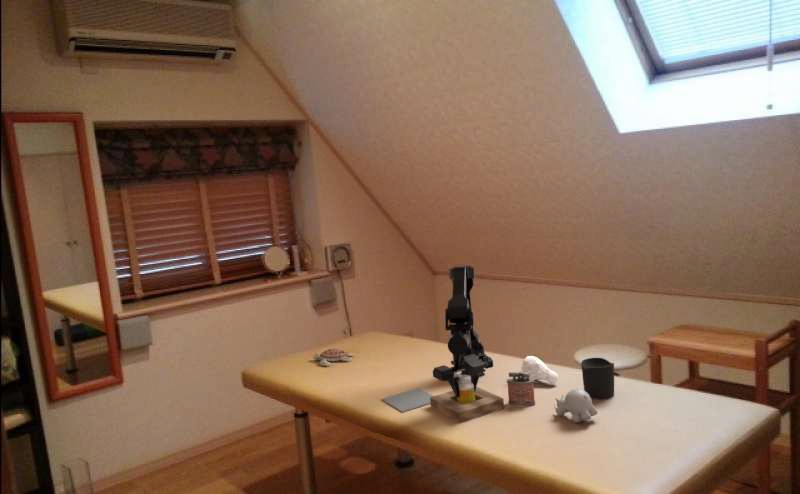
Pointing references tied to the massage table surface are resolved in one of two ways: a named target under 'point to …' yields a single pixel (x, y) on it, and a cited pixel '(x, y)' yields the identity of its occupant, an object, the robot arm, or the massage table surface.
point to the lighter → (520, 389)
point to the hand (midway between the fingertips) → (465, 394)
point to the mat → (409, 400)
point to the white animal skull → (538, 370)
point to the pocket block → (467, 405)
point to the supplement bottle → (465, 390)
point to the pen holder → (598, 377)
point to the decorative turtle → (332, 356)
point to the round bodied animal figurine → (576, 405)
